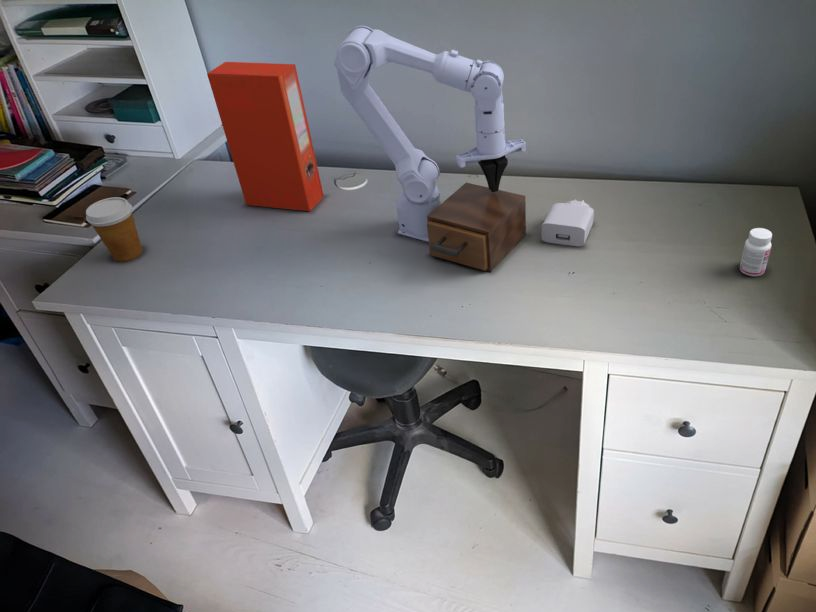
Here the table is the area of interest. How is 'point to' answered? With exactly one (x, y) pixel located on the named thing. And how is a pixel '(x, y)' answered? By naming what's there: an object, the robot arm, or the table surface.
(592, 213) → the charger
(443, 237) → the drawer
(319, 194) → the file binder
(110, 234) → the disposable coffee cup
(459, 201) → the cabinet
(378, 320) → the table surface
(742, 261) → the pill bottle
